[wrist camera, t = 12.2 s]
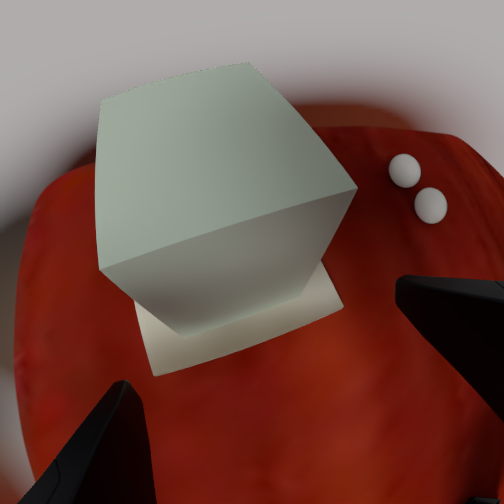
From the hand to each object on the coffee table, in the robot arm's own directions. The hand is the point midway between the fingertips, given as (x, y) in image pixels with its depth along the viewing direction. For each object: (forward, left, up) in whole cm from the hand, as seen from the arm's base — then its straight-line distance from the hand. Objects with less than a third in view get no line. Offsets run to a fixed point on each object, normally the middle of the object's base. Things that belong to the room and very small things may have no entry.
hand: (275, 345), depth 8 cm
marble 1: (-2, -19, -8) cm, 21 cm away
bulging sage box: (+6, -4, -8) cm, 11 cm away
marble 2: (-6, -17, -8) cm, 20 cm away
